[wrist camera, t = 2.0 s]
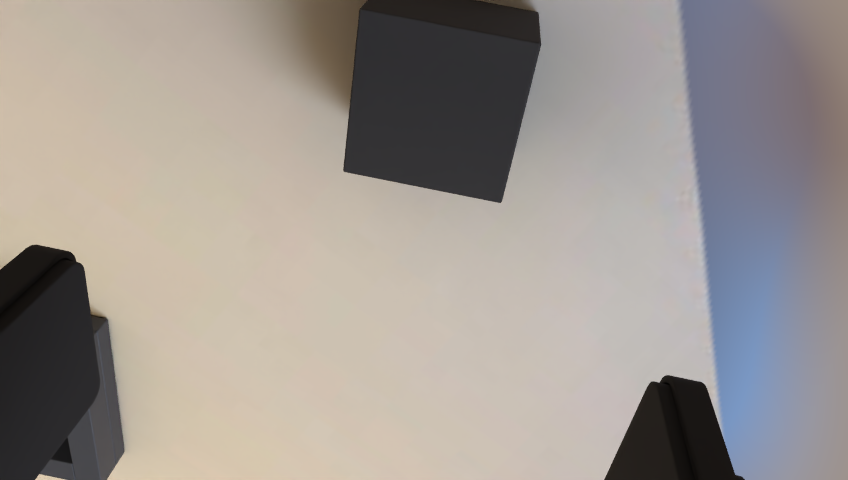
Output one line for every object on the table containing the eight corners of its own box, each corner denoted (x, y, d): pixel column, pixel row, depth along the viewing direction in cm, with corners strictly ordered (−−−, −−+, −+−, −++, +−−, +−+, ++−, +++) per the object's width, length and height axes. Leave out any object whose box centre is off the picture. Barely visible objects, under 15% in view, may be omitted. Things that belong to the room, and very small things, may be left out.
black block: (366, 128, 26) (342, 172, 23) (383, -18, 23) (359, 8, 20) (504, 155, 26) (501, 203, 23) (538, 12, 23) (541, 43, 20)
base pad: (-42, 416, 39) (-74, 449, 37) (-85, 278, 33) (-126, 308, 31) (125, 451, 39) (102, 487, 36) (108, 318, 33) (79, 351, 31)
